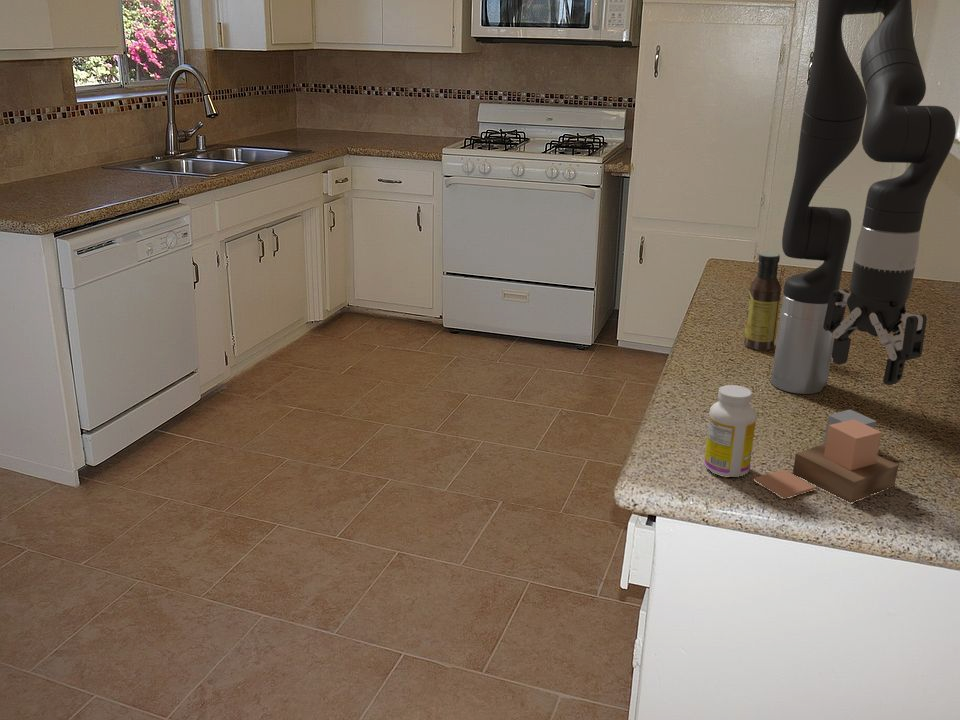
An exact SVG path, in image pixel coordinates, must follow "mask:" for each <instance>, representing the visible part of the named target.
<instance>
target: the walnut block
mask: <svg viewBox="0 0 960 720" xmlns="http://www.w3.org/2000/svg"><path fill="white" fill-rule="evenodd" d="M825 446H826V443H823V444H819V445H816V446H813V447H810V448H808V449H805V450H801V451H800V452H797V453H795V457H794V463H793V468H792V469H793V470H792V474H794V475H796V476H798V477H801V478H803V479H805V480H807V481H808V482H810V483H812V484H815V485H816V486H818V487H820V488H822V489H824V490H826V491H828V492H830V493H832V494H834V495H836V496H837V497H840V498H842V499H844V500H846V501H848V502H850V503H851V502H854V501H856V500H859V499H862V498H864V497H867V496H870V495H871V494H874V493H877V492H879V491H882V490H885V489H887V488H890V487H892V486H894V487H895V485H896V480H897V476H898V475H897V474H898V470H899V464H898V463H896V462H893V461H891V460H889V459H886V458H884V457H882V456H880V455H878V456H877V461H876V464H873V465H869V466H866V467H862V468H858V469H855V470H849V469H847V468H845V467H843V466H841V465H839V464H838V463H836V462H834V461H832V460H830V459H828V458H827V457H825V456H824V452H825ZM890 489H891V488H890ZM885 491H886V490H885Z"/></svg>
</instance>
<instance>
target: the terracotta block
mask: <svg viewBox="0 0 960 720" xmlns="http://www.w3.org/2000/svg"><path fill="white" fill-rule="evenodd" d="M882 434H883V433H882V431H880V430H878V429H876V428H875V429H874V428H872V427H870V426H868V425H865V424H863V423H861V422H859V421H857V420H855V419H852V420H848V421H844V422H840V423H835V424H831V425H829V426H828V433H827V439H826V446H825V452H824V456H825V457H827V458H828V459H830V460H832V461H834V462H836V463H838V464H839V465H841V466H843V467H845V468H847V469H849V470H855V469H858V468H862V467H866V466H869V465H873V464H876V461H877V456H879V450H880V443H881V439H882Z"/></svg>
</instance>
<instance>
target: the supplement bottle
mask: <svg viewBox="0 0 960 720" xmlns="http://www.w3.org/2000/svg"><path fill="white" fill-rule="evenodd" d="M752 395H753V392H752V390H750V389H749V388H747V387H745V386H742V385H741V386H740V385H736V384H735V385H733V384H727V385H726V384H725V385H722V386H721V387H719V389H718V394H717V399H718V401H717V402H715V403H713V404H712V405H711V407H710V409H709V414H708V425H707V433H706V443H705V452H704V462H703V463H704V467H705V466H706V467H707V468H708V469H709V470H710V471H712V472H714V473H717V474H720V475H724V476H729V477H738V476H742V477H744V476H746V475H747V474H748V473H749V472H750V468H751V461H752V453H753V444H754V437H755V429H756V421H757V412H756V410H755V408H753V407H752V406H751V405H750V404H751V402H752V398H753V397H752ZM706 467H705V468H706ZM710 471H709V472H710ZM745 474H746V475H745ZM743 475H744V476H743ZM738 478H739V477H738Z"/></svg>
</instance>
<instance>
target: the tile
mask: <svg viewBox="0 0 960 720" xmlns="http://www.w3.org/2000/svg"><path fill="white" fill-rule="evenodd" d="M754 479H755V480H756V481H757V482H759V483H761V484H762V485H763V486H765V487H766V488H768V489H770V490H772V491H773V492H775V493H777V494H778V495H780V496H781V497H783V498H787V497H790V496H794V495H798V494H801V493H804V492H807V491H810V490H813V489H816V487H814V486H813V485H811V484H809V483H807V482H805V481H804V480H802V479H800V478H798V477H797V476H795V475H793V473H791V472H789V471H788V470H786V469H779V470H776V471H773V472H770V473H769V472H768V473H765V474H763V475H759V476H755V477H753V480H754Z"/></svg>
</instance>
